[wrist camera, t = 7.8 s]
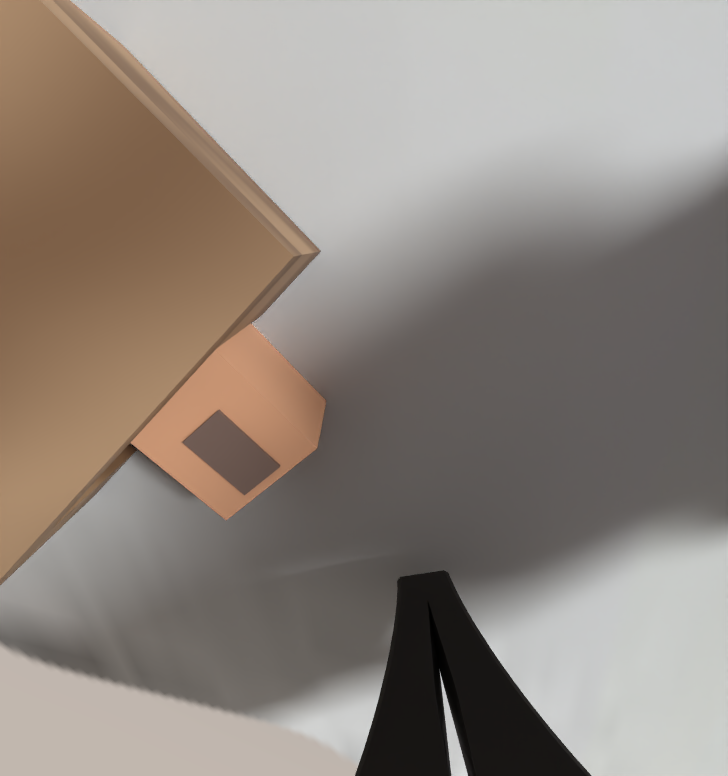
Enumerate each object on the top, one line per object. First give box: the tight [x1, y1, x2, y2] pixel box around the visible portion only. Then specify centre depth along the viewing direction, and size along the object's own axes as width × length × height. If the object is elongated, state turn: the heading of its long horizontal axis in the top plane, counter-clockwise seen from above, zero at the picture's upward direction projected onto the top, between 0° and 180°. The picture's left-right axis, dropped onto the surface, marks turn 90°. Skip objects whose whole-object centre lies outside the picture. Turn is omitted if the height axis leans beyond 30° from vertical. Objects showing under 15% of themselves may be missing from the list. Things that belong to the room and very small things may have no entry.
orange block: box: [131, 323, 326, 520], centre depth 7 cm, size 10×3×2 cm, turn 41°
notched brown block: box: [0, 0, 321, 585], centre depth 7 cm, size 5×9×4 cm, turn 134°
